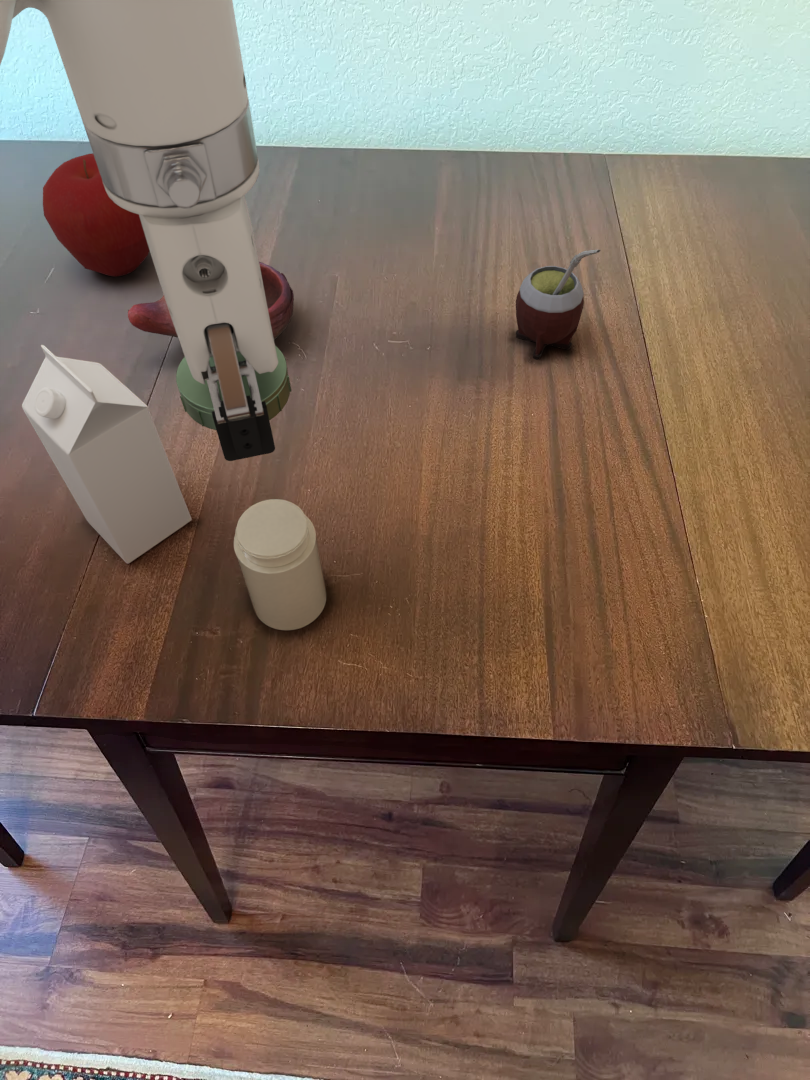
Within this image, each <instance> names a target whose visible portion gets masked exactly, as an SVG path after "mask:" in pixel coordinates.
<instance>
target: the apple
mask: <svg viewBox="0 0 810 1080" xmlns="http://www.w3.org/2000/svg"><path fill="white" fill-rule="evenodd" d="M42 210H43V216H44V218H45V220H46V221H47V224H48V225H49V227H50V229H51V231H52V232H53V234H54V236H55V238H56V239H57V241H58V242H59V243H60V244H61V245H62V246H63V247H64V248H65V250H67V251H68V252H69V253H70V255H71V256H72V257H73V258H74V259H75V260H76V261H77V262H78V263H79V265H81V266H82V267H83V269H86V270H89V271H93V272H97V273H100V274H102V275H106V276H109V277H121V276H127V275H129V274H131V273H133V272H134V271H136V270H137V268H139V267H140V265H141V264H142V263H143V262H144V261H145V260H146V259H147V257H148V256H149V254H150V250H149V247H148V243H147V240H146V237H145V233H144V230H143V227H142V223H141V220H140V217H139V214H136V213H133V212H130V211H128V210H125V209H123V208H121V207H120V206H118V205H117V204H115V203H114V202H113V201H112V200H111V199H110V198H109V196H108V194H107V192H106V190H105V187H104V184H103V182H102V178H101V175H100V172H99V169H98V166H97V163H96V160H95V157H94V154H93V152H91V153H87V154H83V155H79V156H75V157H73V158H71V159H68V160H66V161H63V162H62V163H61V164H60V165H59V166H58V167H57V168H55V169H54V170H53V172H52V173H51V175H50V176H49V177H48V178H47V181H46V182H45V183H44V185H43V187H42Z"/></svg>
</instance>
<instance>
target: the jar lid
mask: <svg viewBox="0 0 810 1080" xmlns="http://www.w3.org/2000/svg"><path fill="white" fill-rule="evenodd" d="M275 348H276V353H277V358H278V365H277V367H276V368H275V370H274V371H273V372H266V373H262V374H259V373H258V372H257V371H256V370H255V375H256V380H257V384H258V389H259V393H260V398H261V402H263V401H265V402H266V406H267V411H268V416H269V421H271V420H272V419H274V418H275V417H276V416H278V414H280V413H281V412H282V411H283V409H284V408H285V406H286V405H287V403H288V401H289V399H290V394H291V392H292V386H291V380H290V376H289V372H288V371H289V370H288V365H287V360H286V357H285V355H284V354H283V352H282V351H281V350H280V348H279V347H278V346H277V345H275ZM236 354H237V359H238V362H240V361H245V358H244V356H243V355H242V354H241V353H240V352H237V353H236ZM209 361H210V366H211V367H213V366H215V363H214V358H213V357H210V358H209ZM175 374H176V375H175V382H176V387H177V389H178V393H179V395H180V396H179V399H180V401H181V404H182V407H183V411H184V413H187V414H188V416H189V417H190V418H191V419H192V420H193V421H194V422H196V423H197V424H198V425H201V427H203V428H204V427H205V428H206V429H207V428H208V429H210V430H213V431H217V430H216V427H215V424H214V420H213V416H212V411H214V407H213V403H212V400H211V396H210V392H209V388H208V384H207V380H205V384H202V383H200V382H198V381H196V380H195V379H194V378H193V376H192V374H191V371H190V369H189V366H188V364H187V361H186V358H185V356H183V358H182V359H181V360H180V363H179V364H178V367H177V371H176V373H175ZM242 381H243V385H244V390H245V394H246V396H249V395H250V397H251V394H250V389H249V385H248V380H247V376H242ZM217 383H218V387H219V391H220V395H221V399H222V401H223V398H222V393H221V389H220V385H219V381H217Z"/></svg>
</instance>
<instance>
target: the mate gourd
mask: <svg viewBox="0 0 810 1080" xmlns="http://www.w3.org/2000/svg"><path fill="white" fill-rule="evenodd" d="M601 251H602V250H601V249H590V250H583V251H581V252H578V254H575V255H574V256H573V258H572V259H571V260H570V262H569V266H568V267H567V268H565V267H561V266H557V265H545V266H541V267H538V268H535V269H534V270H533V271H531V272H530V273H528V275H527V276H525V277H524V279H523V281H522V282H521V284H520V287H519V290H518V292H517V294H516V298H515V318H516V323H517V330H516V331H515V338H517V339H521V340H525V341H528V342H533V343H535V348H534V351H533V354H532V359H534V360H537V361H538V360H540V359H541V357H542V354H543V352H544V349H545V348H546V346H549V347H554V348H558V349H563V350H567V351H568V350H570V349H571V347H572V344H573V343H572V342H571V340H572V339H573V337H574V335H575V334H576V332H577V331H578V327H579V324H580V322H581V318H582V317H581V316H582V313H583V311H584V305H585V297H584V295H585V294H584V289H583V286H582V283H581V281H580V280H579V278H578V276H577V275H575V273H573V271H574V270H575V268H576V267H578V265H579V264H580V263H581V262H582V259H584V258H586V257H588V256H592V255H595V254H599V253H600V252H601Z"/></svg>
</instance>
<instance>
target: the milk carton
mask: <svg viewBox="0 0 810 1080" xmlns="http://www.w3.org/2000/svg"><path fill="white" fill-rule="evenodd" d="M40 347H41V349H42V351H43V353H44V355H45V357H44V358H43V361H42V363H41V365H40V367H39V369H38V371H37V372H36V375H35V377H34V379H33V381H32V383H31V385H30V387H29V390H28V392H27V394H26V395H25V398H24V399H23V401H22V404H21V408H22V410H23V412H24V414H25V415H26V418H27V419H28V421H29V423H30V424H31V426H32V429H34V432H35V433H36V435H37V436H38V439H39V440H40V442H41V443H42V445H43V447H44V448H45V451H46V452H47V454H48V456H49V458H50V460H51V461H52V463H53V465H54V467H55V468H56V470H57V472H58V473H59V475H60V477H61V478H62V480H63V482H64V483H65V485H66V487H67V489H68V491H69V493H70V494H71V495H72V498H73V500H74V501H75V503H76V505H77V506H78V508H79V509H80V511H81V513H82V515H83V517H84V518H85V520H86V522H87V523H88V524H89V525H90V526H91V527H92V528H93V529H94V530H95V532H96V533H97V534H98V535H99V536H100V537H101V539H103V540H104V541H105V542H106V544H107V545H108V546H110V548H111V549H112V550H113V551H114V552H115V553H116V554H117V555H118V556H119V557H120V558H121V560H123V562H124V563H126V564H127V565H128V564H130V563H132V562H133V561H135V560H136V559H137V558H139V557H140V556H142V555H143V554H146V552H148V551H150V550H151V549H152V548H154V547H155V546H156V545H158V544H160V543H161V542H162V541H164V540H166V539H167V538H168V537H170V536H171V535H172V534H174V533H176V532H177V531H178V530H180V529H181V528H183V527H184V526H186V525H187V524H188V523H190V522H191V521H193V519H192V516H191V514H190V512H189V509H188V506H187V503H186V501H185V498H184V496H183V493H182V491H181V488H180V485H179V483H178V480H177V478H176V475H175V473H174V471H173V468H172V465H171V463H170V459H169V456H168V454H167V453H166V450H165V448H164V445H163V442H162V439H161V436H160V434H159V431H158V429H157V427H156V424H155V421H154V419H153V416H152V414H151V411H150V409H149V406H148V404H146V403H145V402H143V400H142V399H141V398H140V397H138V396H137V395H136V394H135V393H134V392H133V391H131V389H130V388H128V387H127V386H126V385H125V384H124V383H122V382H121V381H120V379H119V378H117V377H116V376H115V375H114V374H113V373H111V372H110V371H109V369H107V368H106V367H105V366H104V365H103V364H102V363H100V362H96V361H91V360H90V361H89V360H82V359H77V358H76V359H75V358H69V357H62V356H57V355H55V354H54V353H53V352H52V351H50V349H48V348H47V347H46V346H45V345H44V344H41V345H40Z"/></svg>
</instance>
